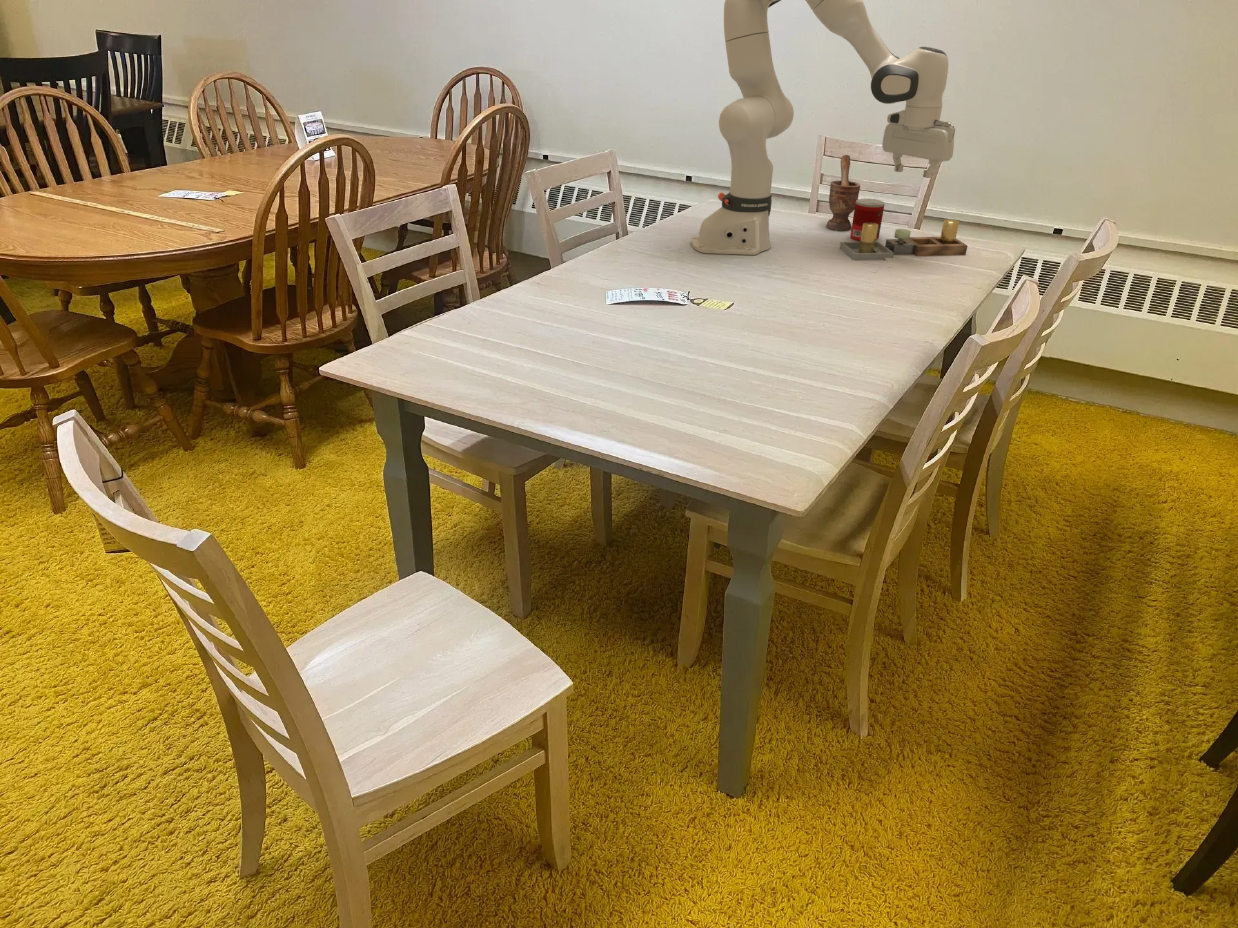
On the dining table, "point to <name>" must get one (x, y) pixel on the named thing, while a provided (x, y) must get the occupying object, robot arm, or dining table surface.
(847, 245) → the grey square tray
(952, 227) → the billet seated
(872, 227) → the billet
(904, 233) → the button
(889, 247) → the button housing
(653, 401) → the dining table surface
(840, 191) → the mortar and pestle
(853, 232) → the canned food
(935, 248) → the wooden compartment tray
